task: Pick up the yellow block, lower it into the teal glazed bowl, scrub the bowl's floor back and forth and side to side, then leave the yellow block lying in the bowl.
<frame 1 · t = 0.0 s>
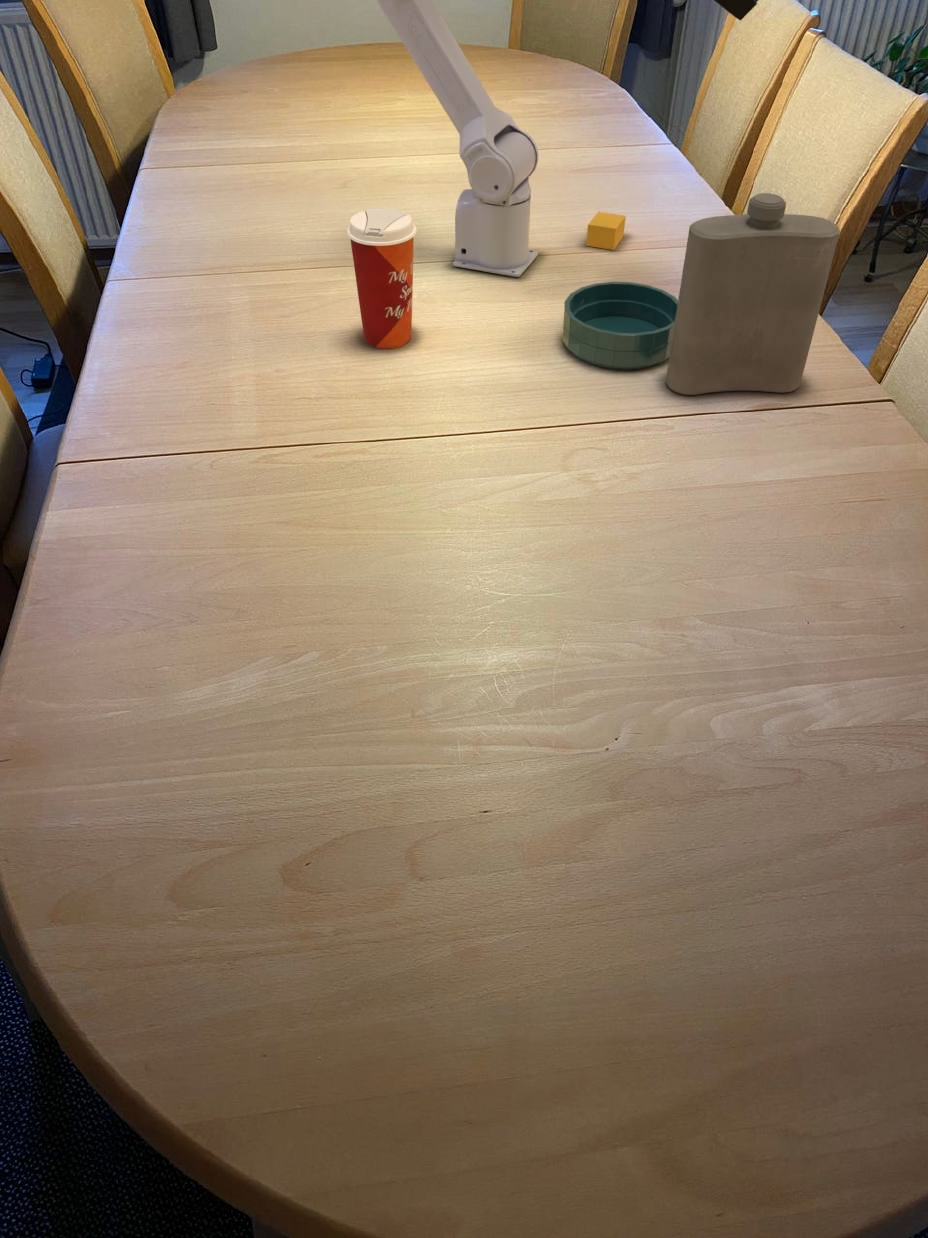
hand: (755, 4, 104), 32 cm above the table, tool tilted 50°, fingers open, 7 cm apart
yellow block: (604, 241, 139), on the table
flask: (731, 383, 111), on the table
bowl: (619, 343, 117), on the table
paper cup: (388, 338, 118), on the table
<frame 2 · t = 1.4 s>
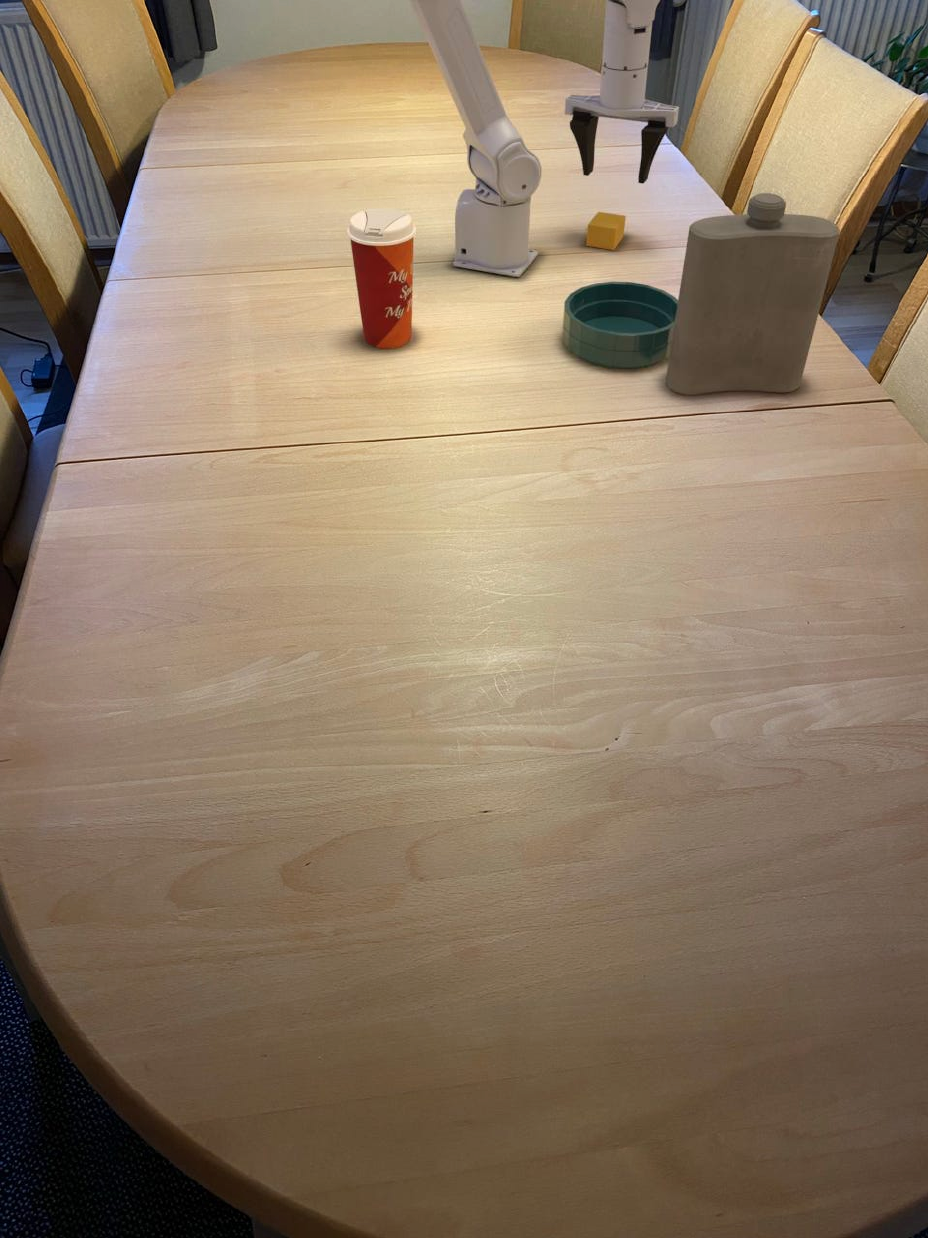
hand: (615, 176, 133), 9 cm above the table, tool pointing down, fingers open, 7 cm apart
nothing on the table moved.
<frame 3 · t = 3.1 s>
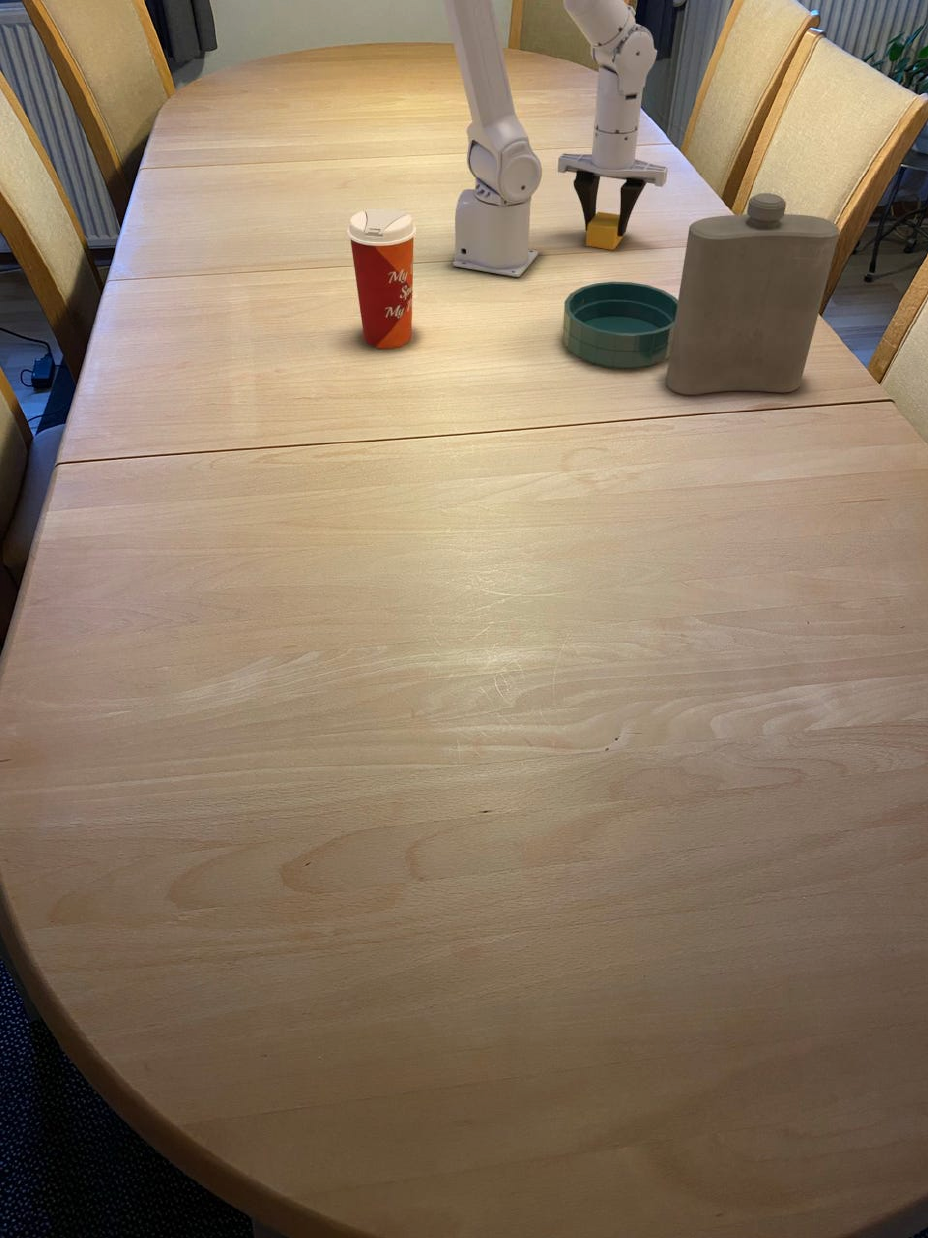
hand: (605, 231, 138), 1 cm above the table, tool pointing down, fingers closed on yellow block, 4 cm apart
yellow block: (604, 241, 139), on the table, touching gripper
everything else where it was.
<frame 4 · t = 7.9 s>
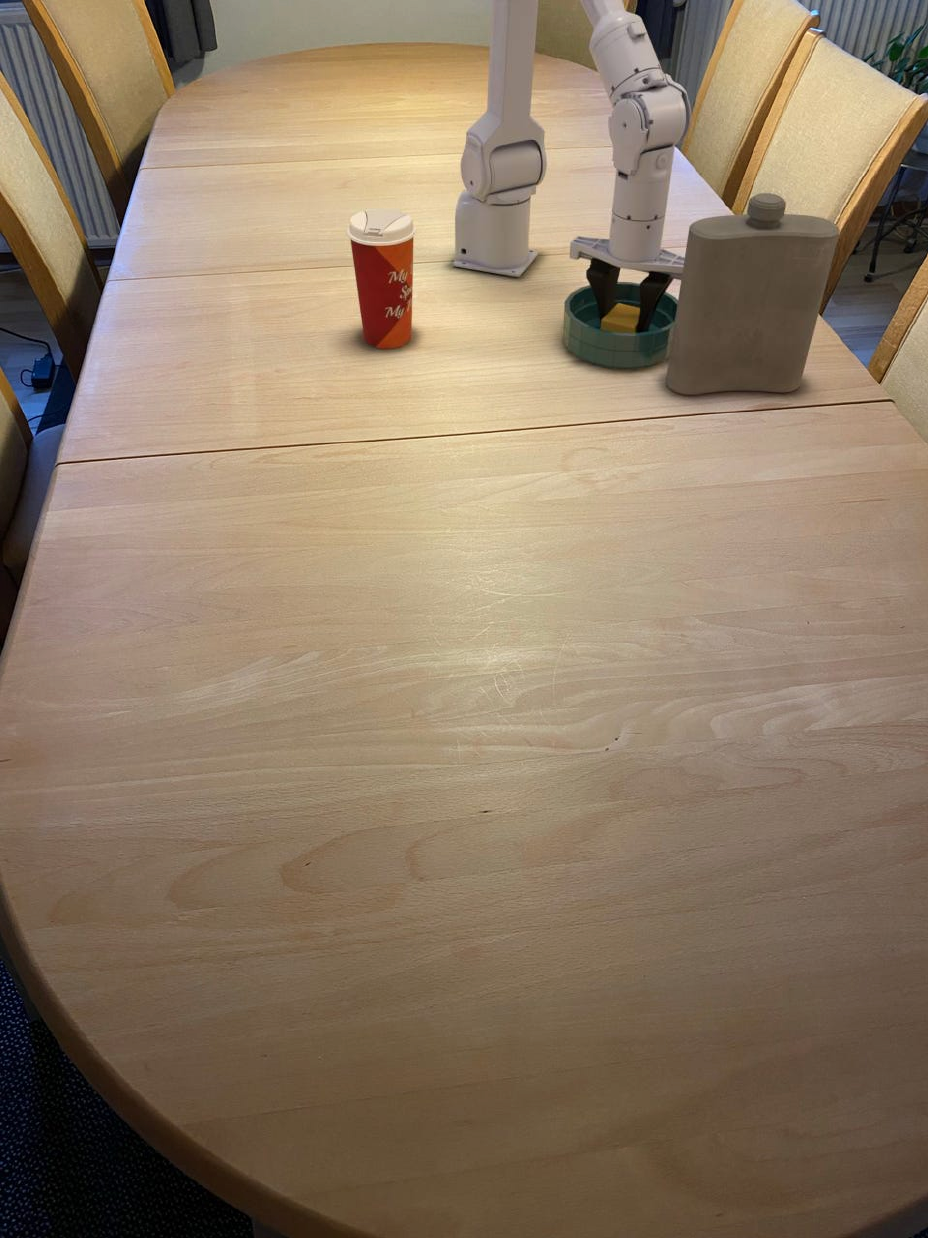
hand: (624, 328, 116), 2 cm above the table, tool pointing down, fingers closed on yellow block, 4 cm apart
yellow block: (622, 338, 117), point 1 cm above the table, touching gripper
everything else where it was.
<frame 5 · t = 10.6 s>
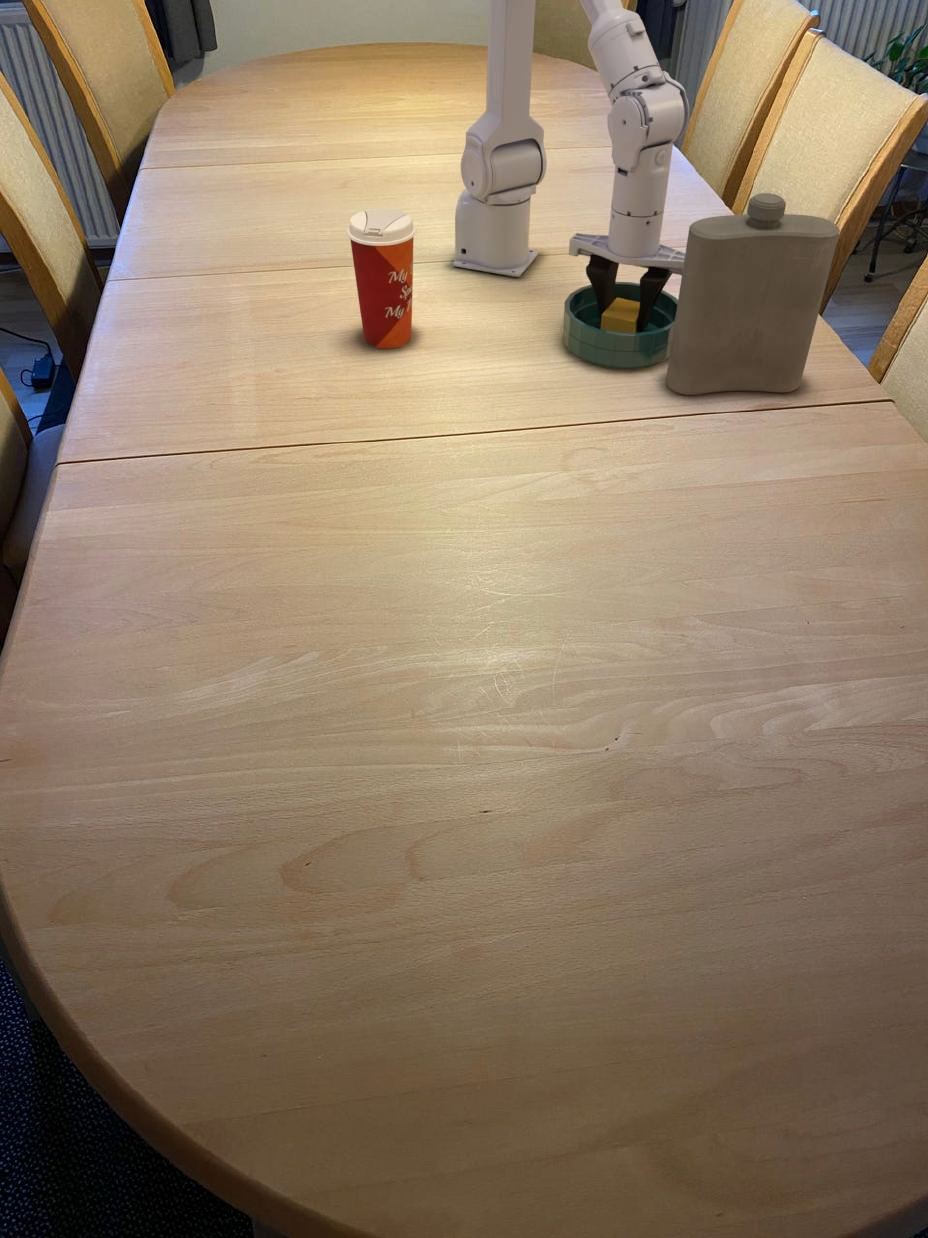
hand: (624, 324, 117), 2 cm above the table, tool pointing down, fingers closed on yellow block, 4 cm apart
yellow block: (622, 332, 118), point 1 cm above the table, touching bowl, gripper
everything else where it was.
when the fingers open (2 cm above the table, at t = 12.5 s): yellow block stays where it is, resting on bowl.
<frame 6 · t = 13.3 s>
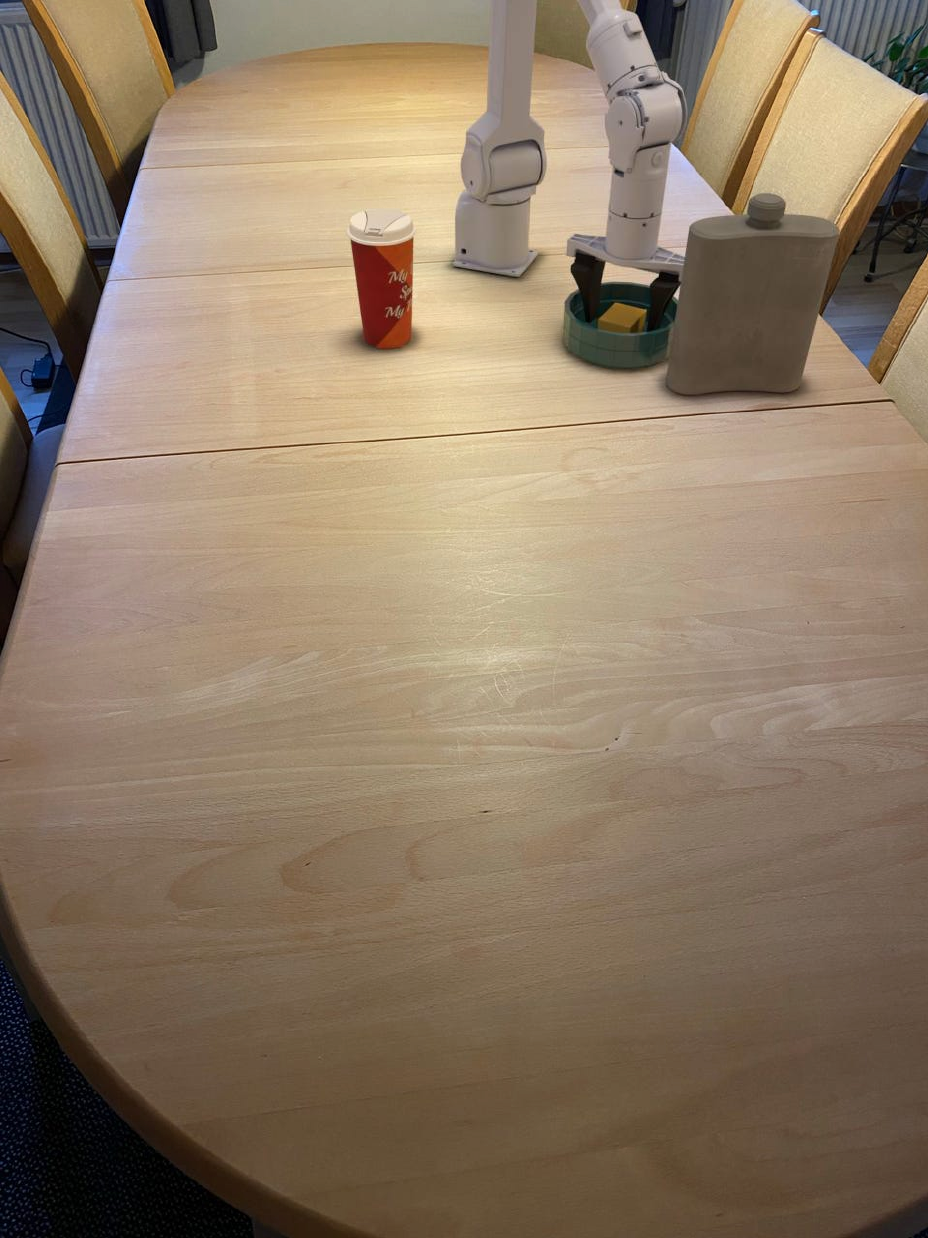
hand: (621, 326, 116), 2 cm above the table, tool pointing down, fingers open, 7 cm apart
yellow block: (620, 338, 117), point 1 cm above the table, touching bowl
everything else where it was.
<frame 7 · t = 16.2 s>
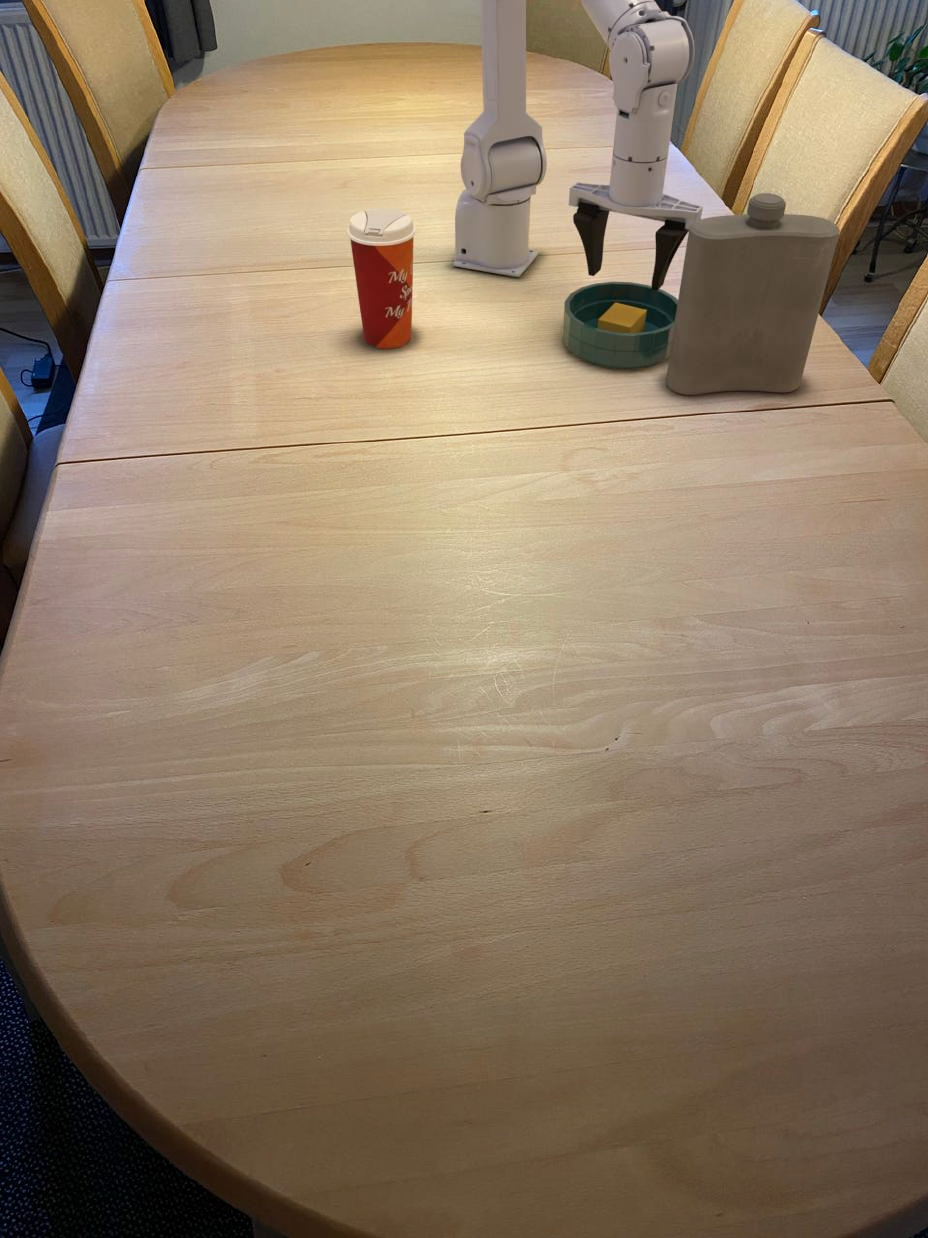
hand: (625, 279, 112), 8 cm above the table, tool pointing down, fingers open, 7 cm apart
nothing on the table moved.
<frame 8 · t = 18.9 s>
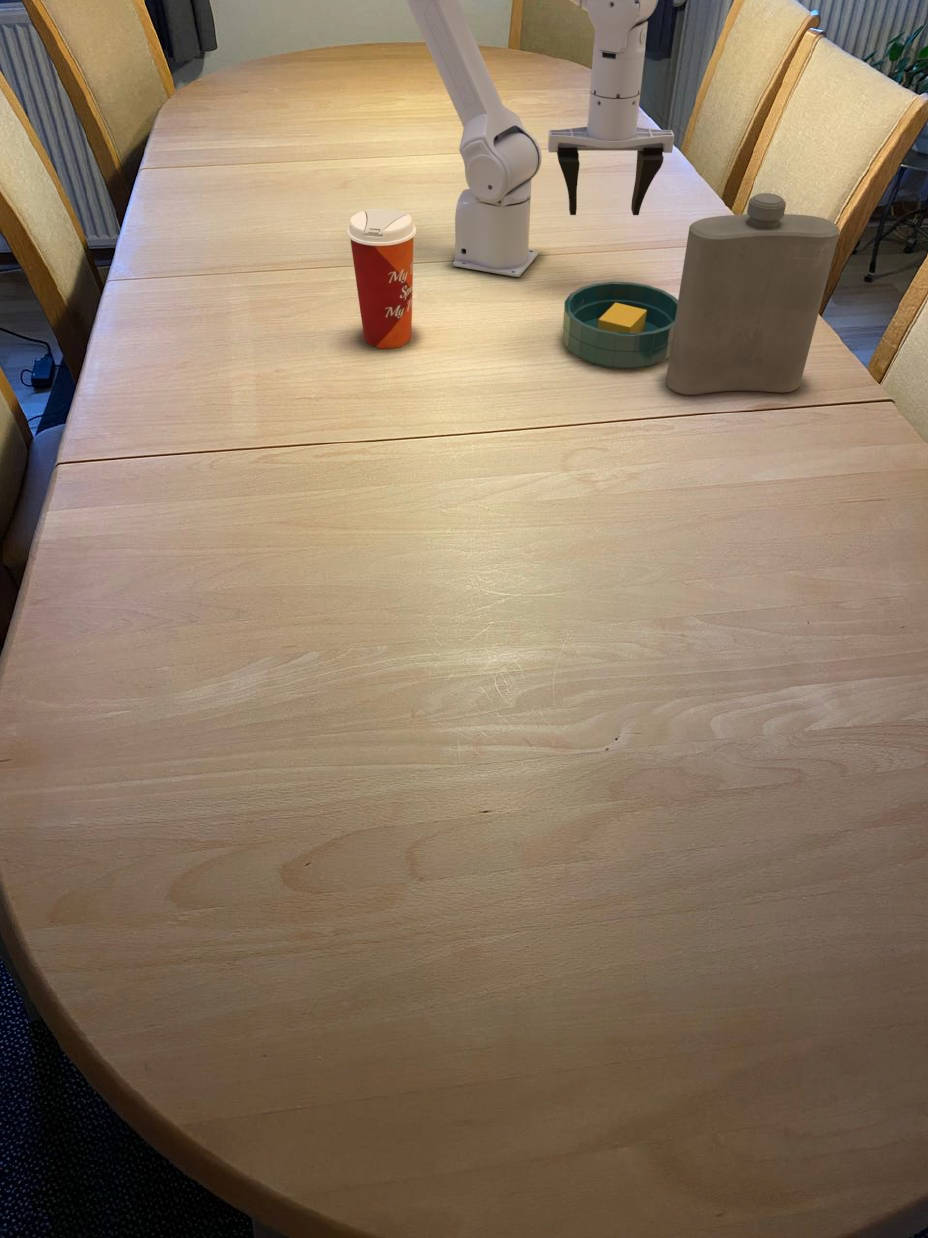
hand: (603, 212, 122), 9 cm above the table, tool pointing down, fingers open, 7 cm apart
nothing on the table moved.
at the end: yellow block inside the target area in the bowl (0.0 cm from its centre), point 0.6 cm above the bowl's base; the gripper is holding nothing; yellow block moved 29.7 cm from its start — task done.
